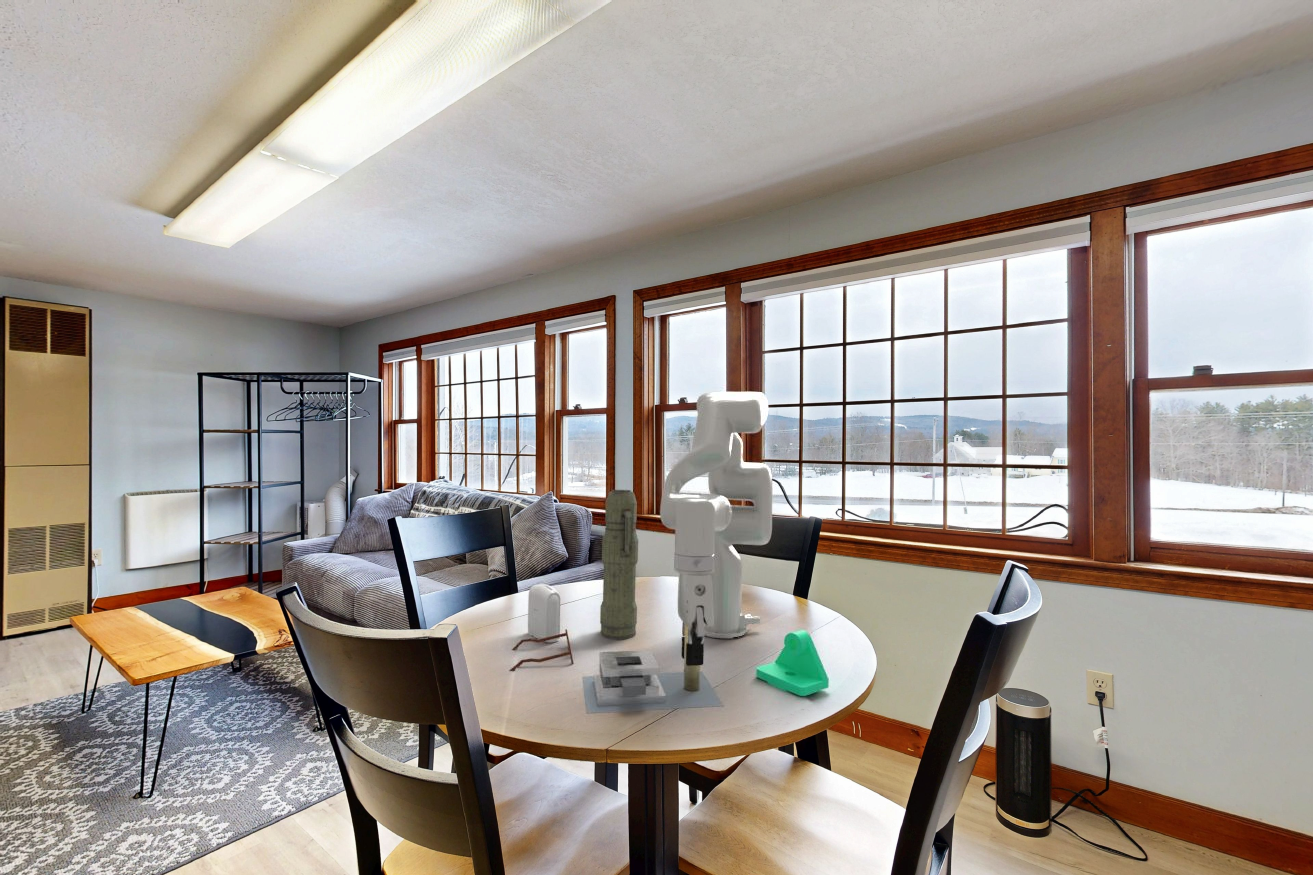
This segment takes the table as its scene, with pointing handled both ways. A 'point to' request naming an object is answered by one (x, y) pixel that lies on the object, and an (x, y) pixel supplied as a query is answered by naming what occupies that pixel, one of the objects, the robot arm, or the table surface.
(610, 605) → the thermos
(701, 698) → the mat
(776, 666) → the camera mount
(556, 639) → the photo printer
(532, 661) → the glasses
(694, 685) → the pin
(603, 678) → the clevis
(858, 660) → the table surface
